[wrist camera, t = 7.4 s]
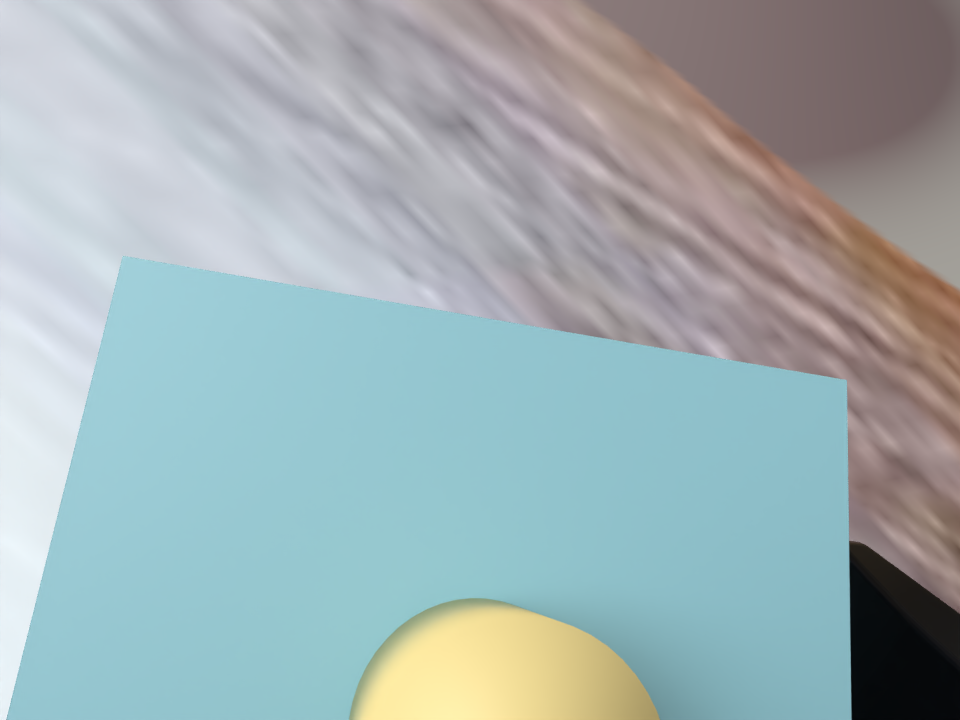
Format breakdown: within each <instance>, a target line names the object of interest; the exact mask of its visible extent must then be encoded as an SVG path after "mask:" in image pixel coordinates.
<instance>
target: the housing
mask: <svg viewBox="0 0 960 720" xmlns="http://www.w3.org/2000/svg"><path fill="white" fill-rule="evenodd" d="M6 720H851V651H850V579H849V506H848V434H847V380H843V379H837V378H831V377H825V376H819V375H813V374H808V373H802V372H796V371H790V370H784V369H779V368H773V367H767V366H761V365H755V364H749V363H744V362H738V361H732V360H726V359H720V358H715V357H709V356H703V355H697V354H691V353H685V352H680V351H674V350H668V349H662V348H656V347H650V346H645V345H639V344H633V343H627V342H621V341H616V340H610V339H604V338H598V337H592V336H586V335H581V334H575V333H569V332H563V331H557V330H552V329H546V328H540V327H534V326H528V325H522V324H517V323H511V322H505V321H499V320H493V319H487V318H482V317H476V316H470V315H464V314H458V313H453V312H447V311H441V310H435V309H429V308H423V307H418V306H412V305H406V304H400V303H394V302H389V301H383V300H377V299H371V298H365V297H359V296H354V295H348V294H342V293H336V292H330V291H324V290H319V289H313V288H307V287H301V286H295V285H290V284H284V283H278V282H272V281H266V280H260V279H255V278H249V277H243V276H237V275H231V274H226V273H220V272H214V271H208V270H202V269H196V268H191V267H185V266H179V265H173V264H167V263H161V262H156V261H150V260H144V259H138V258H132V257H127V256H123V257H122V261H121V265H120V269H119V273H118V277H117V281H116V285H115V289H114V293H113V297H112V301H111V305H110V309H109V313H108V317H107V321H106V325H105V329H104V333H103V337H102V341H101V345H100V349H99V353H98V357H97V361H96V365H95V369H94V373H93V377H92V381H91V385H90V389H89V393H88V397H87V401H86V405H85V409H84V413H83V417H82V421H81V425H80V429H79V433H78V436H77V440H76V444H75V448H74V452H73V456H72V460H71V464H70V468H69V472H68V476H67V480H66V484H65V488H64V492H63V496H62V500H61V504H60V508H59V512H58V516H57V520H56V524H55V528H54V532H53V536H52V540H51V544H50V548H49V552H48V556H47V560H46V564H45V568H44V572H43V576H42V580H41V584H40V588H39V592H38V596H37V600H36V604H35V608H34V612H33V616H32V620H31V624H30V628H29V632H28V636H27V639H26V643H25V647H24V651H23V655H22V659H21V663H20V667H19V671H18V675H17V679H16V683H15V687H14V691H13V695H12V699H11V703H10V707H9V711H8V715H7V719H6Z"/></svg>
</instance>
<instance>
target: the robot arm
mask: <svg viewBox="0 0 960 720" xmlns="http://www.w3.org/2000/svg"><path fill="white" fill-rule="evenodd" d="M849 579H850V651H851V720H960V614H959V613H958V612H957V611H955V610H954V609H952V608H951V607H950V606H948V605H947V604H946V603H944V602H943V601H942V600H940V599H939V598H937V597H936V596H935V595H933V594H932V593H931V592H929V591H928V590H927V589H925V588H924V587H922V586H921V585H920V584H918V583H917V582H916V581H914V580H913V579H912V578H910V577H909V576H907V575H906V574H905V573H903V572H902V571H901V570H899V569H898V568H897V567H895V566H894V565H892V564H891V563H890V562H888V561H887V560H886V559H884V558H883V557H882V556H880V555H879V554H877V553H876V552H875V551H873V550H872V549H871V548H869V547H868V546H866V545H865V544H862V543H859V542H854V541H849Z"/></svg>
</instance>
